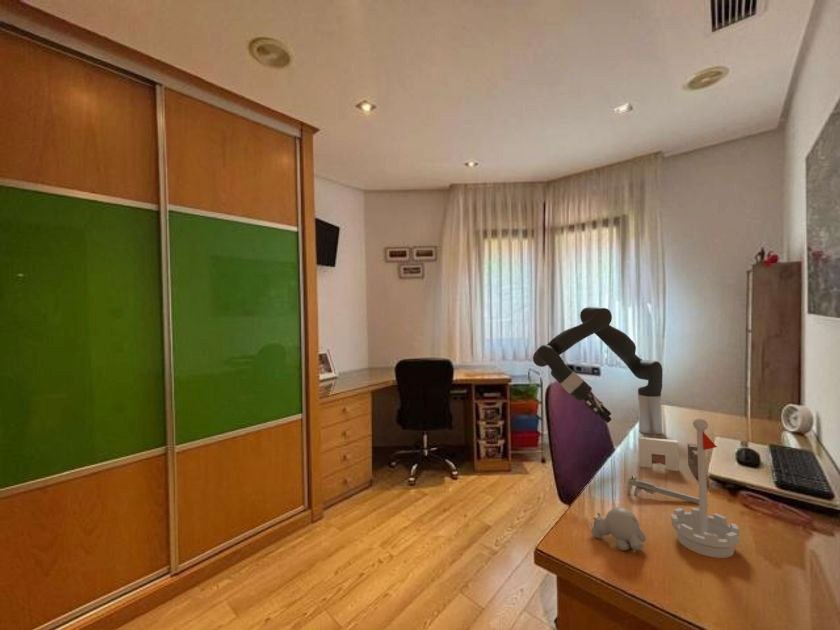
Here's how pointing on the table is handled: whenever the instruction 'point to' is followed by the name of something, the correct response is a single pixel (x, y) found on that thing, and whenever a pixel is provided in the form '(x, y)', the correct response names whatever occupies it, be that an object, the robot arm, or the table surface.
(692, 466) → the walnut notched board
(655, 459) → the wooden tablet
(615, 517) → the chubby cartoon animal
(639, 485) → the caliper
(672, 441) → the white notched plate
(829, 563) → the table surface
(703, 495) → the flag stand
